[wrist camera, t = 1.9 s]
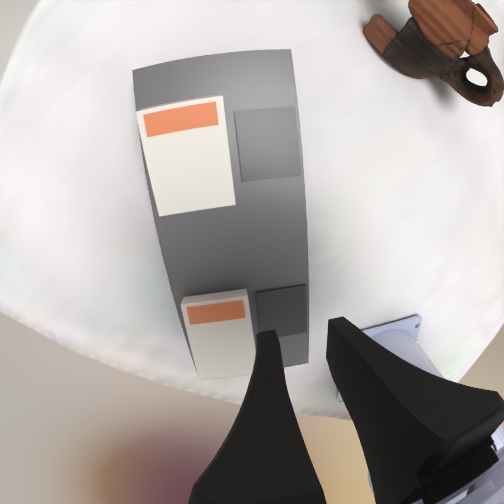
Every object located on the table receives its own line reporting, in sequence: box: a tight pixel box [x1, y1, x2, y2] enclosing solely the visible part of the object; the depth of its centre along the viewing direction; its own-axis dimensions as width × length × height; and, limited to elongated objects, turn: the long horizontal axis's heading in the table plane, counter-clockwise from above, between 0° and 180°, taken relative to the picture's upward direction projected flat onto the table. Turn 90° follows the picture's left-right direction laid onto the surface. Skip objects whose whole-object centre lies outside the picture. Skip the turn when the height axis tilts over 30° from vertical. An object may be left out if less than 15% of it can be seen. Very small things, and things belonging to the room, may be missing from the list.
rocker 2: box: [181, 289, 256, 380], centre depth 16 cm, size 5×4×2 cm
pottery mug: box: [363, 0, 504, 107], centre depth 12 cm, size 12×10×8 cm
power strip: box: [132, 49, 309, 371], centre depth 17 cm, size 20×8×3 cm, turn 6°
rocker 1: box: [136, 94, 236, 217], centre depth 12 cm, size 5×4×2 cm
